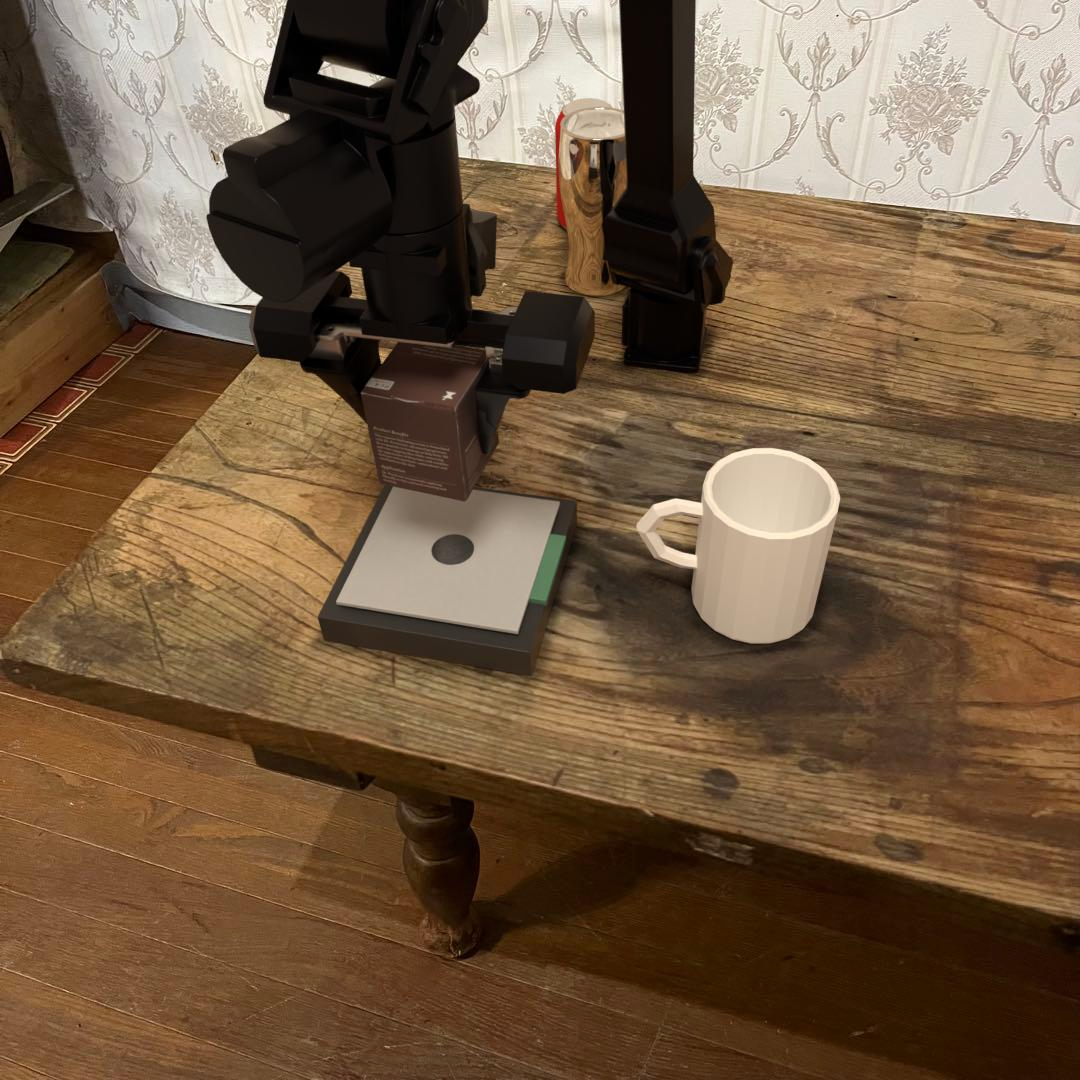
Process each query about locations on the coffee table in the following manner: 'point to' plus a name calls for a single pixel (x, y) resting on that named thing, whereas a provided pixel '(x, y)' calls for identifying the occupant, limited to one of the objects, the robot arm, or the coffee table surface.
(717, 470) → the mug
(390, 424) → the box
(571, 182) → the beer glass
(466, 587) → the scale
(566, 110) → the beverage can
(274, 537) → the coffee table surface
